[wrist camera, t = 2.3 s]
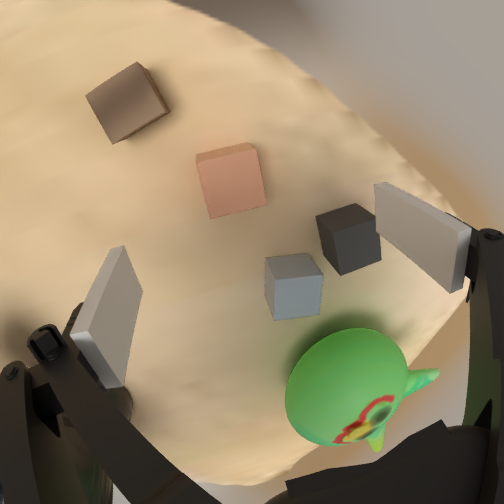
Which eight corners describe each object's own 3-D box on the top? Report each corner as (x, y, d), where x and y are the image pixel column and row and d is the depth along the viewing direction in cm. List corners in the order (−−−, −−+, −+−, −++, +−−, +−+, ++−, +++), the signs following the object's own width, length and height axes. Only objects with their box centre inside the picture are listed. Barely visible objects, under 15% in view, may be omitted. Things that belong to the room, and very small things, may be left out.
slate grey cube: (305, 290, 38) (319, 314, 34) (264, 295, 37) (274, 320, 33) (307, 253, 36) (323, 274, 31) (264, 257, 35) (275, 280, 31)
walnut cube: (170, 111, 27) (164, 111, 22) (125, 139, 27) (112, 144, 23) (146, 69, 25) (137, 61, 20) (101, 97, 25) (85, 95, 20)
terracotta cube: (256, 190, 32) (267, 204, 27) (208, 202, 31) (210, 218, 27) (246, 142, 29) (256, 148, 25) (196, 154, 29) (196, 162, 25)
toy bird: (309, 296, 38) (359, 383, 25) (402, 315, 43) (456, 381, 30) (258, 391, 45) (279, 474, 32) (346, 396, 50) (378, 462, 37)
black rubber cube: (361, 241, 36) (381, 260, 32) (323, 254, 36) (340, 275, 32) (355, 202, 34) (377, 217, 30) (315, 216, 34) (333, 233, 30)
